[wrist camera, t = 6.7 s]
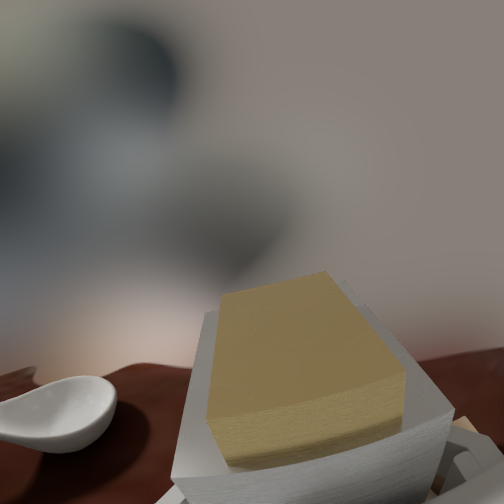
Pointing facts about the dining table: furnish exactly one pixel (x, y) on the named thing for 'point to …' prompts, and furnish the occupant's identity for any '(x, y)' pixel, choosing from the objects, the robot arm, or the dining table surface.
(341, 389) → the grey tall block
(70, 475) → the dining table surface
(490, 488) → the robot arm
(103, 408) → the spoon rest
